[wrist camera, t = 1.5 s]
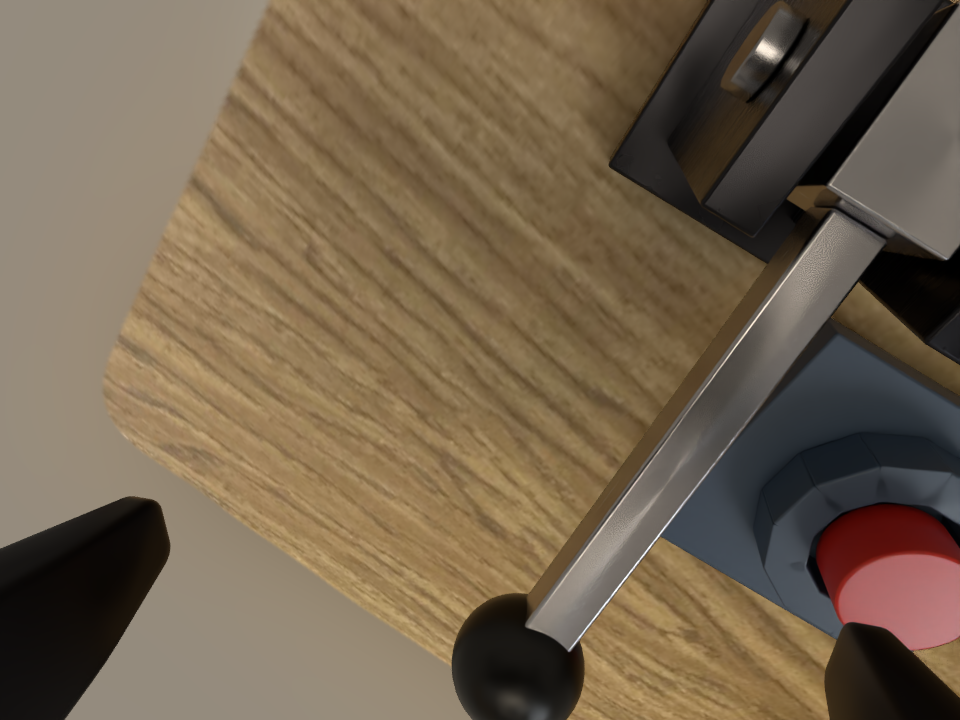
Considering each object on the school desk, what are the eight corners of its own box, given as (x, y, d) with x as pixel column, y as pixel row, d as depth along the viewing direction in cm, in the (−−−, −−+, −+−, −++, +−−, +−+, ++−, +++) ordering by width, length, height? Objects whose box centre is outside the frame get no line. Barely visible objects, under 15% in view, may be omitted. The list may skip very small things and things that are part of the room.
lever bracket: (805, 281, 19) (961, 466, 10) (608, 160, 18) (592, 244, 10) (1005, 53, 15) (1496, 36, 7) (768, -98, 15) (962, -320, 6)
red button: (982, 544, 18) (1022, 599, 16) (884, 614, 19) (911, 671, 18) (877, 481, 18) (906, 529, 16) (788, 557, 19) (805, 608, 17)
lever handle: (540, 689, 15) (538, 799, 12) (440, 632, 15) (415, 730, 12) (983, 119, 11) (1128, 93, 8) (850, 34, 11) (951, -20, 8)
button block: (1089, 475, 19) (1177, 552, 16) (870, 631, 23) (907, 717, 20) (821, 311, 19) (859, 359, 16) (647, 500, 23) (650, 567, 20)
